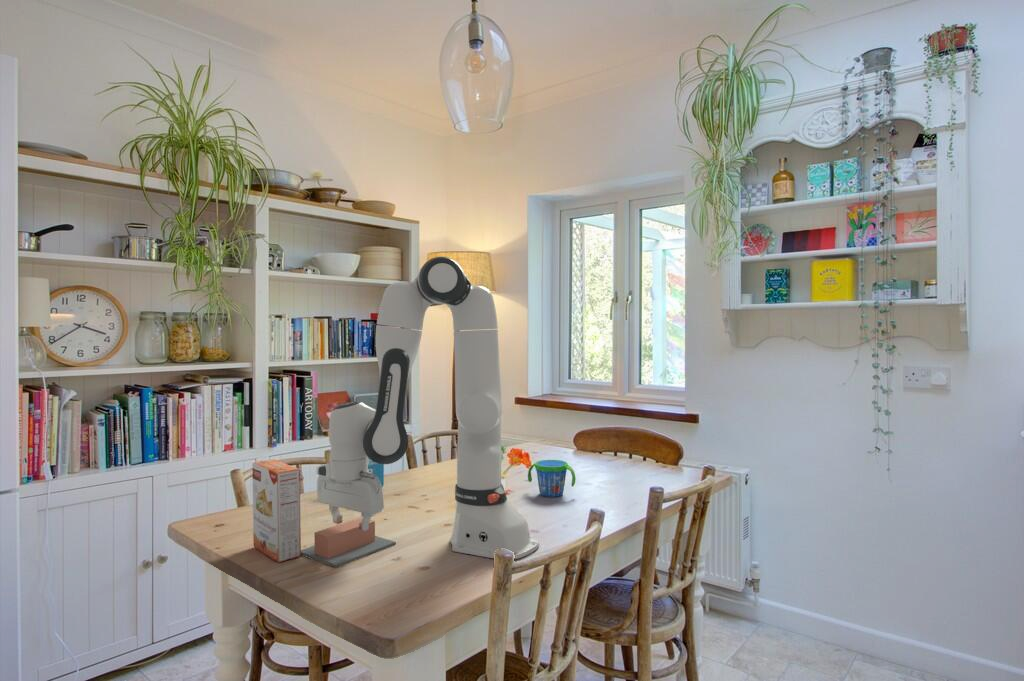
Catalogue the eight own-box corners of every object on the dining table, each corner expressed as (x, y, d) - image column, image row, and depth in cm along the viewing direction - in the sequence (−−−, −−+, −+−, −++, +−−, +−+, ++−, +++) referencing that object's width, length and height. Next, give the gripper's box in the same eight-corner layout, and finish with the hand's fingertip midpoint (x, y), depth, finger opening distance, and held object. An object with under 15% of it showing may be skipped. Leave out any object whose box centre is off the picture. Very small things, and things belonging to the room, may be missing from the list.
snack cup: (521, 494, 196) (522, 463, 196) (537, 487, 205) (537, 457, 205) (566, 502, 188) (566, 469, 188) (580, 494, 198) (580, 462, 197)
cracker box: (251, 548, 149) (251, 462, 148) (276, 541, 153) (275, 458, 152) (276, 564, 139) (275, 472, 138) (301, 557, 143) (301, 467, 142)
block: (314, 532, 143) (361, 517, 155) (314, 553, 143) (361, 537, 155) (328, 536, 140) (374, 521, 152) (328, 558, 140) (374, 541, 152)
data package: (351, 495, 195) (351, 457, 195) (344, 492, 199) (344, 455, 198) (384, 488, 204) (384, 452, 204) (376, 485, 207) (376, 450, 207)
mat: (395, 544, 151) (395, 541, 151) (336, 567, 137) (336, 564, 137) (357, 532, 160) (357, 530, 160) (297, 553, 145) (297, 551, 145)
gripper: (389, 471, 144) (390, 530, 145) (332, 462, 156) (334, 516, 156) (368, 477, 139) (370, 538, 139) (311, 467, 151) (313, 522, 151)
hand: (350, 526), depth 148 cm, fingers open, 8 cm apart
